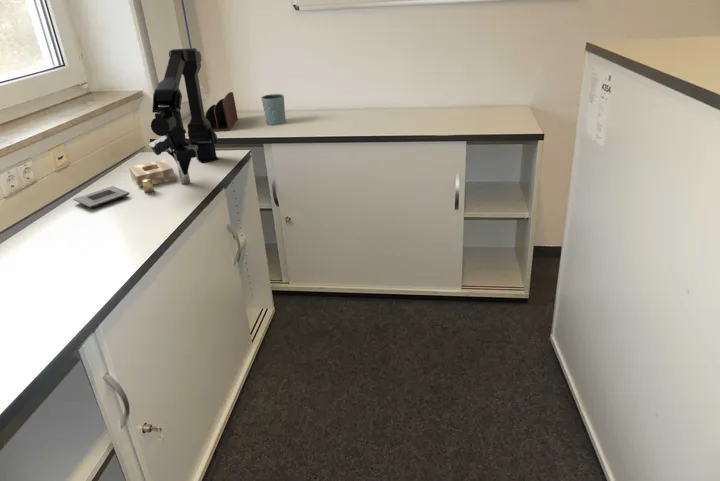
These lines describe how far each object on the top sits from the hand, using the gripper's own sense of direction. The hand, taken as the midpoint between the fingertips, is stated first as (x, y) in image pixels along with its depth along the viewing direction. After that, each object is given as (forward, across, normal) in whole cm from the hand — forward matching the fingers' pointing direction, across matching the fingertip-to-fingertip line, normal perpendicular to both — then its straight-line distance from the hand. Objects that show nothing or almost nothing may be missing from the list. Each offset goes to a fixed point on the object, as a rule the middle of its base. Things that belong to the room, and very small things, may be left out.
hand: (183, 173), depth 180 cm
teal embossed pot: (+4, -51, +56) cm, 76 cm away
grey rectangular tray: (+4, -2, -26) cm, 26 cm away
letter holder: (+4, -64, +36) cm, 73 cm away
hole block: (+4, -12, -8) cm, 15 cm away
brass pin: (+4, 0, -12) cm, 13 cm away
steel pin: (+4, 0, 0) cm, 4 cm away
